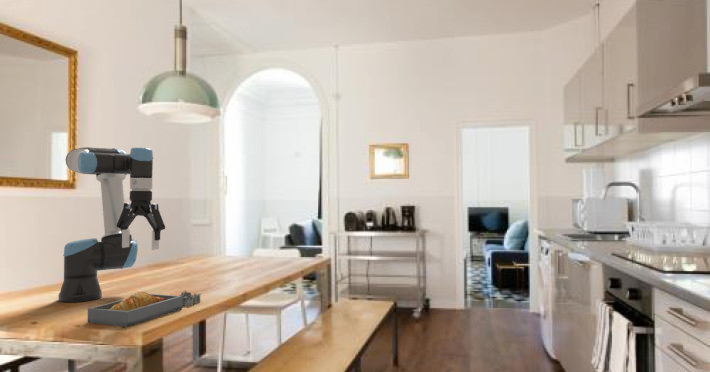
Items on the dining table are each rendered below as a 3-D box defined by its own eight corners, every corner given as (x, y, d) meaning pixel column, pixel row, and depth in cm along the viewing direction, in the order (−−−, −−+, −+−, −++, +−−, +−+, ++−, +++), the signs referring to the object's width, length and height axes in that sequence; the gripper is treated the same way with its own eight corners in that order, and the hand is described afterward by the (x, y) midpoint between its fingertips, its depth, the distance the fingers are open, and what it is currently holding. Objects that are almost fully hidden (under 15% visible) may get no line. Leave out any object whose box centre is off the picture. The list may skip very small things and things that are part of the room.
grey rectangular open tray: (87, 322, 157) (87, 308, 157) (146, 305, 182) (146, 293, 182) (127, 326, 152) (127, 312, 152) (182, 308, 177) (182, 296, 177)
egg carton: (185, 300, 192) (185, 290, 193) (203, 301, 191) (203, 290, 191) (171, 306, 182) (171, 295, 182) (190, 306, 181) (190, 295, 181)
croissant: (110, 330, 156) (117, 309, 154) (96, 312, 161) (101, 291, 159) (169, 315, 174) (175, 297, 172) (154, 299, 179) (160, 281, 177)
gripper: (106, 189, 180) (105, 247, 180) (161, 190, 171) (160, 251, 171) (122, 189, 187) (121, 245, 187) (176, 190, 178) (175, 249, 178)
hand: (140, 248), depth 179 cm, fingers open, 13 cm apart
